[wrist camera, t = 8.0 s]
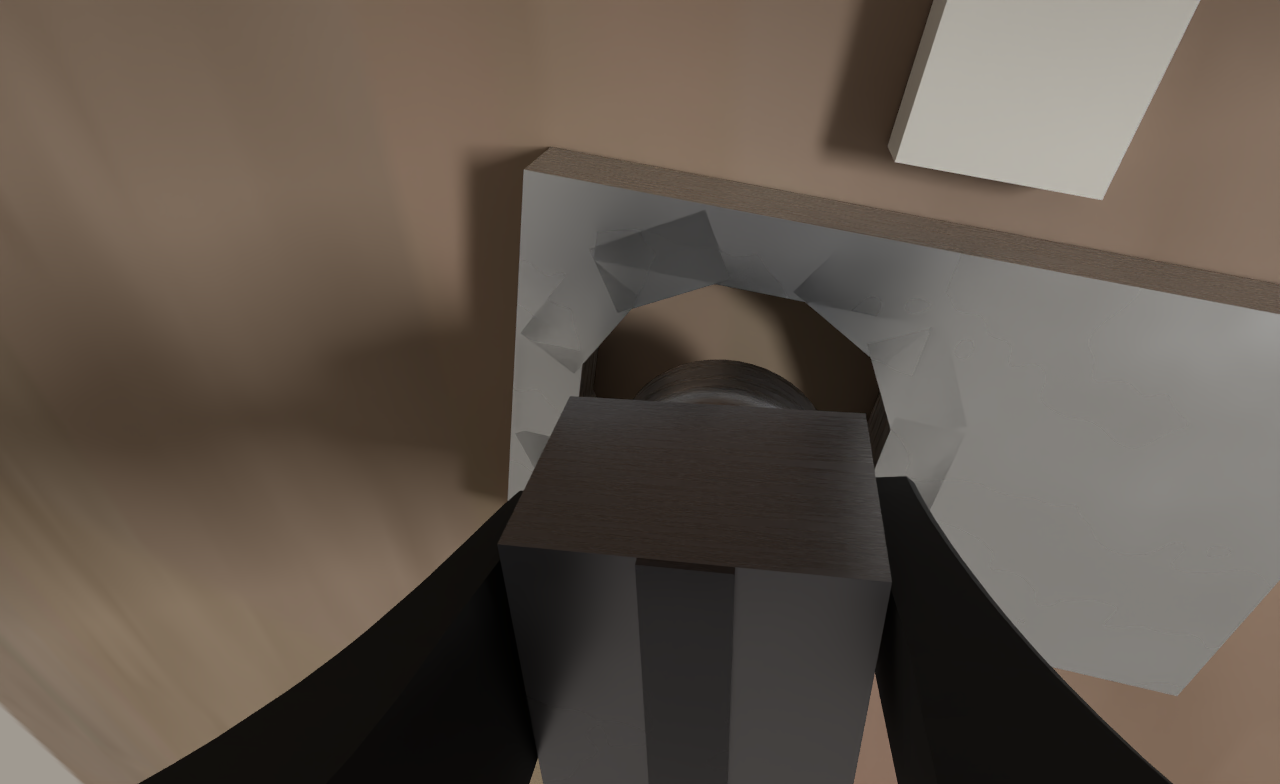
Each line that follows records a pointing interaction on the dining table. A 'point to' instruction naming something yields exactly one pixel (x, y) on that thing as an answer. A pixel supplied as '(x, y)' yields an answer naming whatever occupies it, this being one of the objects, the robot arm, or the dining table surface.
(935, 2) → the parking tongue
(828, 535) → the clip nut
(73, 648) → the dining table surface
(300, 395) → the dining table surface
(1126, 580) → the flange plate
